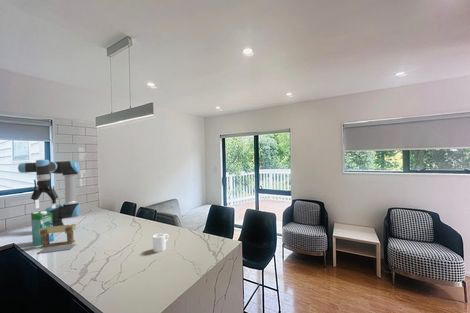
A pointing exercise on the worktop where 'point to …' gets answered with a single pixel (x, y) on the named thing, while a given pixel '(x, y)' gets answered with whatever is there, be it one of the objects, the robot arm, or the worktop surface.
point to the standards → (47, 243)
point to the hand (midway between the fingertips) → (45, 208)
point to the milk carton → (41, 225)
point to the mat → (57, 248)
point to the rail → (57, 228)
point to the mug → (159, 242)
